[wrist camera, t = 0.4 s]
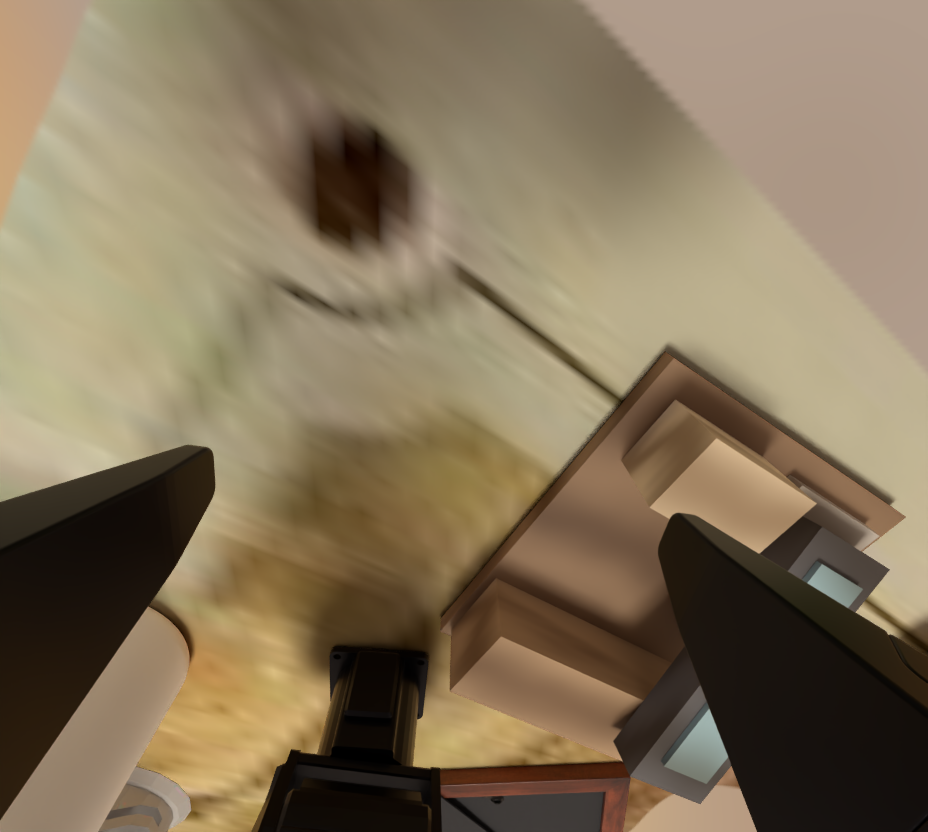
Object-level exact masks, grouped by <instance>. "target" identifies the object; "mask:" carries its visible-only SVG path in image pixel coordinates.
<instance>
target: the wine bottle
mask: <svg viewBox="0 0 928 832" xmlns="http://www.w3.org/2000/svg"><path fill="white" fill-rule="evenodd" d="M189 658H190V656H189V651H188V646H187V644H186V641H185V639H184V637H183V635H182V634H181V633H180V631H179V630H178V629H177V627H176V626H175V625H174V624H173V623H172V622H171V621H170V620H168V619H167V618H166V617H164V616H163V615H162V614H160V613H159V612H157V611H155V610H154V609H152V608H150V607H147V609H146V610H145V612H144V613H143V615H142V616H141V617H140V619H139V620H138V622H137V623H136V625H135V626H134V628H133V629H132V630H131V632H130V633H129V635H128V636H127V638H126V639H125V641H124V642H123V643H122V645H121V646H120V648H119V649H118V651H117V652H116V654H115V655H114V657H113V658H112V659H111V661H110V662H109V664H108V665H107V667H106V668H105V670H104V671H103V672H102V674H101V675H100V677H99V678H98V680H97V681H96V683H95V684H94V685H93V687H92V688H91V690H90V691H89V693H88V694H87V696H86V697H85V698H84V700H83V701H82V703H81V704H80V706H79V707H78V709H77V710H76V712H75V713H74V714H73V716H72V717H71V719H70V720H69V722H68V723H67V725H66V726H65V727H64V729H63V730H62V732H61V733H60V735H59V736H58V738H57V739H56V740H55V742H54V743H53V745H52V746H51V748H50V749H49V751H48V752H47V753H46V755H45V756H44V758H43V759H42V761H41V762H40V764H39V765H38V767H37V768H36V769H35V771H34V772H33V774H32V775H31V777H30V778H29V780H28V781H27V782H26V784H25V785H24V787H23V788H22V790H21V791H20V793H19V794H18V795H17V797H16V798H15V800H14V801H13V803H12V804H11V806H10V807H9V809H8V810H7V811H6V813H5V814H4V816H3V817H2V819H1V820H0V832H98V831H99V829H100V827H101V826H102V824H103V822H104V821H105V819H106V817H107V815H108V814H109V812H110V810H111V808H112V807H113V805H114V803H115V801H116V800H117V798H118V796H119V795H120V793H121V791H122V789H123V788H124V786H125V784H126V782H127V781H128V779H129V777H130V775H131V774H132V772H133V770H134V768H135V767H136V765H137V763H138V762H139V760H140V758H141V756H142V755H143V753H144V751H145V749H146V748H147V746H148V744H149V742H150V741H151V739H152V737H153V735H154V734H155V732H156V730H157V729H158V727H159V725H160V723H161V722H162V720H163V718H164V716H165V715H166V713H167V711H168V709H169V708H170V706H171V704H172V703H173V701H174V699H175V697H176V696H177V694H178V692H179V690H180V689H181V687H182V685H183V683H184V681H185V678H186V675H187V672H188V669H189Z"/></svg>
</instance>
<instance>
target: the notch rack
mask: <svg viewBox="0 0 928 832" xmlns="http://www.w3.org/2000/svg"><path fill="white" fill-rule="evenodd" d="M675 513H686V514H693V515H696V516H698V517H700V518H701V519H703V520H705V521H706V522H708V523H710V524H711V525H713V526H715V527H716V528H718V529H719V530H721V531H723V532H724V533H726V534H728V535H729V536H731V537H733V538H734V539H736V540H737V541H739V542H741V543H742V544H744V545H746V546H747V547H749V548H751V549H752V550H754V551H755V552H757V553H761V552H762V551H763V550H764V549H765V548H766V547H768V546H769V545H770V544H771V543H772V542H773V541H774V540H776V539H777V538H778V537H779V536H780V535H781V534H782V533H784V532H785V531H786V530H787V529H788V528H789V527H791V526H792V525H793V524H794V523H795V522H796V521H797V520H799V519H800V518H801V517H802V516H803V517H805V518H807V519H809V520H811V521H813V522H814V523H816V524H818V525H820V526H822V527H823V528H825V529H827V530H828V531H830V532H831V533H833V534H834V535H836V536H838V537H839V538H841V539H842V540H844V541H845V542H847V543H849V544H850V545H852V546H853V547H855V548H856V549H858V550H860V551H861V552H862V551H864V550H865V549H866V548H867V547H869V546H870V545H871V544H872V543H874V542H875V541H876V540H878V539H879V538H880V537H881V536H883V535H884V534H885V533H886V532H888V531H889V530H890V529H891V528H893V527H894V526H895V525H897V524H898V523H899V522H900V521H902V520H903V519H904V518H905V516H904V515H902V514H901V513H900V512H898V511H897V510H895V509H894V508H893V507H891V506H890V505H888V504H887V503H885V502H884V501H882V500H881V499H880V498H878V497H877V496H875V495H874V494H872V493H871V492H869V491H868V490H866V489H865V488H864V487H862V486H861V485H859V484H858V483H856V482H855V481H853V480H852V479H850V478H849V477H847V476H846V475H845V474H843V473H842V472H840V471H839V470H837V469H836V468H834V467H833V466H831V465H830V464H828V463H827V462H826V461H824V460H823V459H821V458H820V457H818V456H817V455H815V454H814V453H812V452H811V451H809V450H808V449H807V448H805V447H804V446H802V445H801V444H799V443H798V442H796V441H795V440H793V439H792V438H791V437H789V436H788V435H786V434H785V433H783V432H782V431H780V430H779V429H777V428H776V427H774V426H773V425H772V424H770V423H769V422H767V421H766V420H764V419H763V418H761V417H760V416H758V415H757V414H755V413H754V412H753V411H751V410H750V409H748V408H747V407H745V406H744V405H742V404H741V403H739V402H738V401H737V400H735V399H734V398H732V397H731V396H729V395H728V394H726V393H725V392H723V391H722V390H720V389H719V388H718V387H716V386H715V385H713V384H712V383H710V382H709V381H707V380H706V379H704V378H703V377H701V376H700V375H699V374H697V373H696V372H694V371H693V370H691V369H690V368H688V367H687V366H685V365H684V364H683V363H681V362H680V361H678V360H677V359H675V358H674V357H672V356H671V355H669V354H668V353H666V352H665V353H664V354H663V355H662V356H661V357H660V359H659V360H658V361H657V362H656V363H655V365H654V366H653V367H652V368H651V369H650V371H649V372H648V373H647V374H646V375H645V377H644V378H643V379H642V380H641V381H640V382H639V384H638V385H637V386H636V387H635V388H634V390H633V391H632V392H631V393H630V394H629V396H628V397H627V398H626V399H625V400H624V401H623V403H622V404H621V405H620V406H619V407H618V409H617V410H616V411H615V412H614V413H613V415H612V416H611V417H610V418H609V419H608V420H607V422H606V423H605V424H604V425H603V426H602V428H601V429H600V430H599V431H598V432H597V434H596V435H595V436H594V437H593V438H592V439H591V441H590V442H589V443H588V444H587V445H586V447H585V448H584V449H583V450H582V451H581V453H580V454H579V455H578V456H577V457H576V458H575V460H574V461H573V462H572V463H571V464H570V466H569V467H568V468H567V469H566V470H565V472H564V473H563V474H562V475H561V476H560V477H559V479H558V480H557V481H556V482H555V483H554V485H553V486H552V487H551V488H550V489H549V491H548V492H547V493H546V494H545V495H544V496H543V498H542V499H541V500H540V501H539V502H538V504H537V505H536V506H535V507H534V508H533V510H532V511H531V512H530V513H529V514H528V516H527V517H526V518H525V519H524V520H523V521H522V523H521V524H520V525H519V526H518V527H517V529H516V530H515V531H514V532H513V533H512V535H511V536H510V537H509V538H508V539H507V540H506V542H505V543H504V544H503V545H502V546H501V548H500V549H499V550H498V551H497V552H496V554H495V555H494V556H493V557H492V558H491V559H490V561H489V562H488V563H487V564H486V565H485V567H484V568H483V569H482V570H481V571H480V573H479V574H478V575H477V576H476V577H475V578H474V580H473V581H472V582H471V583H470V584H469V586H468V587H467V588H466V589H465V590H464V592H463V593H462V594H461V595H460V596H459V597H458V599H457V600H456V601H455V602H454V603H453V605H452V606H451V607H450V608H449V609H448V611H447V612H446V613H445V614H444V615H443V616H442V618H441V628H440V632H443V633H445V634H447V635H450V636H451V660H450V692H453V693H455V694H457V695H460V696H462V697H465V698H467V699H470V700H472V701H475V702H477V703H480V704H482V705H485V706H487V707H489V708H492V709H494V710H497V711H499V712H502V713H504V714H507V715H509V716H512V717H514V718H517V719H519V720H521V721H524V722H526V723H529V724H531V725H534V726H536V727H539V728H541V729H544V730H546V731H549V732H551V733H554V734H556V735H558V736H561V737H563V738H566V739H568V740H571V741H573V742H576V743H578V744H581V745H583V746H586V747H588V748H590V749H593V750H595V751H598V752H600V753H603V754H605V755H608V756H610V757H613V758H615V759H618V760H620V761H622V759H621V757H620V755H619V752H618V750H617V748H616V746H615V744H614V742H613V741H614V739H615V738H616V737H617V735H618V734H619V733H620V731H621V730H622V729H623V727H624V726H625V725H626V723H627V722H628V721H629V719H630V718H631V717H632V716H633V714H634V713H635V712H636V710H637V709H638V708H639V706H640V705H641V704H642V702H643V701H644V700H645V698H646V697H647V696H648V694H649V693H650V692H651V690H652V689H653V688H654V686H655V685H656V684H657V682H658V681H659V680H660V678H661V677H662V676H663V674H664V673H665V672H666V670H667V669H668V668H669V666H670V665H671V664H672V662H673V661H674V660H675V658H676V657H677V656H678V654H679V653H680V652H681V650H682V649H683V648H684V646H685V645H684V642H683V640H682V637H681V634H680V631H679V629H678V626H677V622H676V619H675V616H674V613H673V609H672V605H671V602H670V598H669V594H668V591H667V587H666V583H665V580H664V576H663V572H662V569H661V565H660V561H659V558H658V546H659V543H660V540H661V538H662V535H663V533H664V531H665V528H666V526H667V524H668V521H669V519H670V517H671V516H672V515H673V514H675ZM622 762H623V761H622Z"/></svg>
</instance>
